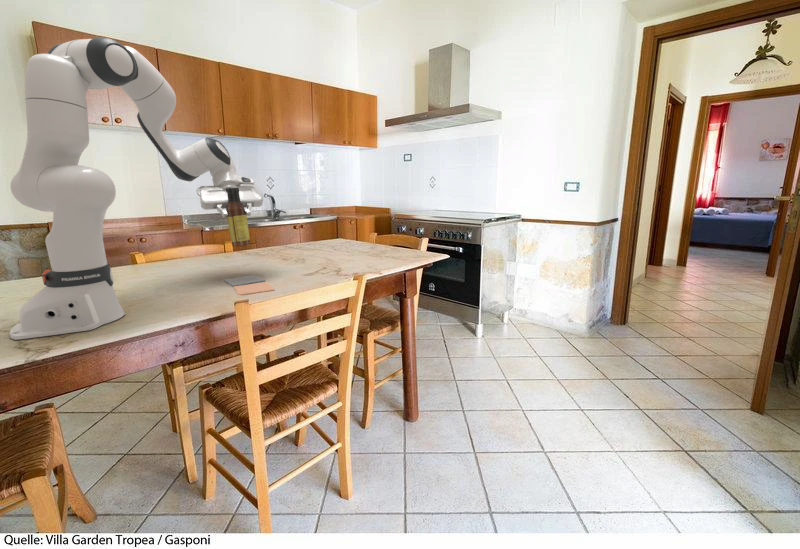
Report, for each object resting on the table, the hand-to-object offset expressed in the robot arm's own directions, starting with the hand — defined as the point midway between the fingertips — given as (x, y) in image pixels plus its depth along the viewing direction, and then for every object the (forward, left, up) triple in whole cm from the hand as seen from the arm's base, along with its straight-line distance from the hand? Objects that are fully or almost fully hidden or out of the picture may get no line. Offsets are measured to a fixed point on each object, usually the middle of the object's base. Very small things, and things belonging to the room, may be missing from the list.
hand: (237, 215), depth 133 cm
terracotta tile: (0, -12, -24) cm, 27 cm away
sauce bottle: (0, +1, -11) cm, 11 cm away
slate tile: (0, +1, -24) cm, 24 cm away
